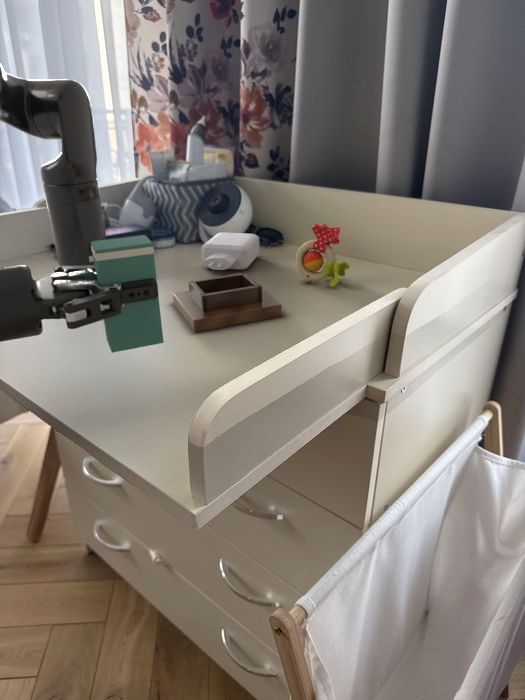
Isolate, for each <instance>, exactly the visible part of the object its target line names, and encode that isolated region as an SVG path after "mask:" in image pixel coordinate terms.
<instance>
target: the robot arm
mask: <svg viewBox="0 0 525 700" xmlns="http://www.w3.org/2000/svg"><path fill="white" fill-rule="evenodd" d="M0 122H1V123H3V124H5V125H8V126H10V127H12V128H14V129H16V130H18V131H20V132H22V133H24V134H26V135H29V136H31V137H33V138H36V139H39V140H40V139H41V140H46V141H61V152H60V154H59V155H58V156H57V157H56V158H55V159H53V160H50V161H48V162H46V163H44V164H42V165H41V167H40V176H41V182H42V186H43V192H44V197H45V202H46V207H47V211H48V218H49V222H50V227H51V228H50V229H51V233H52V236H53V238H52V239H53V241H54V243H55V245H54V244H51V243H50V245H49V247H50V248H55V252H56V253H55V254H56V259H57V264H58V265H57V266H55V267H54V268H53V271H54V273H52V274H51V275H50V276H46V277H42V278H39V279H33V274H32V270H31V268H30V267H29V266H28V265H26V264H20V265H11V266H4V267H0V343H2V342H7V341H12V340H19V339H24V338H31V337H35V336H36V337H37V336H40V335H42V334H43V331H44V327H43V321H44V320H65V322H66V327H67V329H69V330H74V329H75V330H76V329H79V328H82V327H85V326H88V325H92V324H94V323H96V322H100V321H104V319H107V318H110V317H113V316H116V315H119V314H121V313H122V310H121V308H122V307H124V306H125V304H126V303H132V302H139V301H145V300H151V299H156V298H157V297H159V295H160V293H159V285H158V281H157V282H156V280H155V279H153V278H149V279H143V280H136V281H129V282H123V283H122V284H121V283H110V284H103V285H101V284H100V283H99V282H98V281H97V276H96V271H95V265H94V258H93V253H92V249H91V241H99V240H107V234H106V228H105V221H104V214H103V208H102V201H101V195H100V189H99V188H100V187H99V182H98V176H97V167H98V166H97V165H98V154H97V145H96V135H95V124H94V115H93V109H92V104H91V100H90V96H89V94H88V92H87V90H86V88H85V87H84V86H83V84H81V82H79V81H78V80H75V79H65V78H64V79H63V78H62V79H60V78H59V79H27V78H21V77H18V76H16V75H12V74H10V73H7V72H5V70H4V68H3V66H2V64H1V63H0ZM105 300H108V301H106V302H104V301H105ZM104 309H106V310H104Z"/></svg>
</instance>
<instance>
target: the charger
mask: <svg viewBox="0 0 525 700" xmlns="http://www.w3.org/2000/svg"><path fill="white" fill-rule="evenodd" d="M200 250H201V251H200V252H201V263H202V266H204V267H205V268H209V269H210V270H216V271H218V270H219V271H225V270H233V271H234V270H235V271H243V270H246V269H248V267H249V266H250V265H251V264H252V263H253V262H254V261H255V259H257V257H258V256H259V255H260V237H259V236H258V235H257V234H254V233H243V232H225V231H224V232H217V233H216V234H215V235H214V236H213V237H211V238H210V239H208V240H207V241H206V242H205V243H204V244H203V245H201V247H200Z"/></svg>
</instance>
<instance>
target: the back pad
mask: <svg viewBox="0 0 525 700" xmlns="http://www.w3.org/2000/svg"><path fill="white" fill-rule="evenodd" d="M91 249H92V253H93V258H94V265H95V271H96V276H97V281H98V282H99V283H100V284H101V285H103V284H110V283H121V284H122V283H123V282H129V281H136V280H143V279H149V278H153V279H155V280H156V282H157V283H158V279H157V271H156V262H155V248H154V245H153V242H152V240H150V239H149V237H148V236H147V235H146V234H140V235H133V236H124V237H117V238H109V239H107V238H106V240H99V241H91ZM106 301H108V300H105V301H104V302H106ZM160 305H161V304H160V297H159V296H158V297H157V298H156V299H151V300H145V301H139V302H132V303H126V304H125V306H124V307H122V308H121V310H122V313H121V314H119V315H116V316H113V317H110V318H107V319H104V320H103V324H104V330H105V331H104V332H105V336H106V341H107V344H108V347H109V350H110V351H111V353H117V352H118V353H119V352H123V351H128V350H132V349H134V350H135V349H139V348H145V347H149V346H154V345H160V344H164V334H163V325H162V316H161V306H160ZM104 310H106V309H104Z"/></svg>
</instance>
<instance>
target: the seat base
mask: <svg viewBox="0 0 525 700" xmlns="http://www.w3.org/2000/svg"><path fill="white" fill-rule="evenodd" d="M172 301H173V306H174V307H175V309H176V310H177V311H178V312H179V314H180V315H181V316H182V318H183V319H184V321H185V322H186V323H187V325H188V326H189V327H190V329H191V330H192V331H193V333H200V332H205V331H211V330H215V329H222V328H227V327H231V326H237V325H238V326H239V325H242V324H248V323H253V322H258V321H264V320H270V319H274V318H275V319H276V318H279V317H282V304H281V303H280V302H279V301H278V300H276V299H275V298H274V297H273V296H271V294H269V293H268V292H267V291H265V290H264V289H263V286H262V285H261V284H260V283H259V282H257V281H256V280H255V279H253V278H252V277H251V276H250V275H249V274H247V273H246V272H241V273H240V272H239V273H233V274H229V275H227V274H226V275H220V276H214V277H208V278H202V279H195V280H189V281H188V290H186V291H185V290H184V291H180V292H173V293H172Z"/></svg>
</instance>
